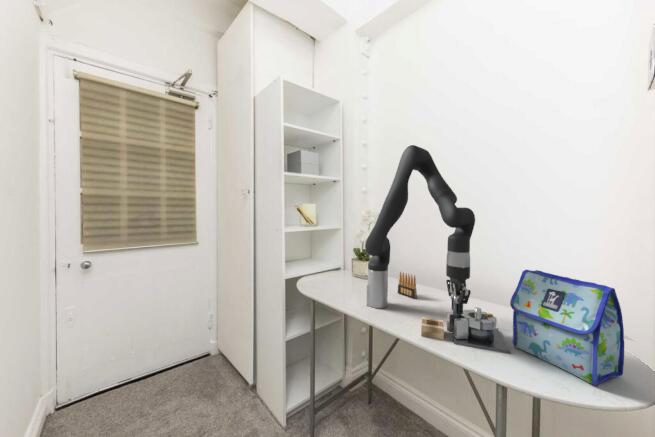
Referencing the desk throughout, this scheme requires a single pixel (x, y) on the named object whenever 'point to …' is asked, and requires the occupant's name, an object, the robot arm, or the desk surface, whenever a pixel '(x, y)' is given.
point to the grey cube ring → (469, 323)
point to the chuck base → (484, 338)
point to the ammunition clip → (407, 286)
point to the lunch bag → (569, 324)
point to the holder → (432, 328)
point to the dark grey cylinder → (455, 309)
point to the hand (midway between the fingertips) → (457, 311)
